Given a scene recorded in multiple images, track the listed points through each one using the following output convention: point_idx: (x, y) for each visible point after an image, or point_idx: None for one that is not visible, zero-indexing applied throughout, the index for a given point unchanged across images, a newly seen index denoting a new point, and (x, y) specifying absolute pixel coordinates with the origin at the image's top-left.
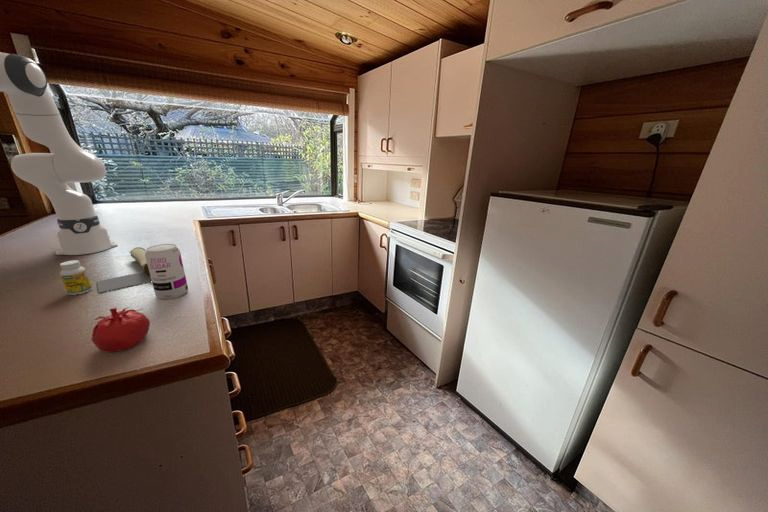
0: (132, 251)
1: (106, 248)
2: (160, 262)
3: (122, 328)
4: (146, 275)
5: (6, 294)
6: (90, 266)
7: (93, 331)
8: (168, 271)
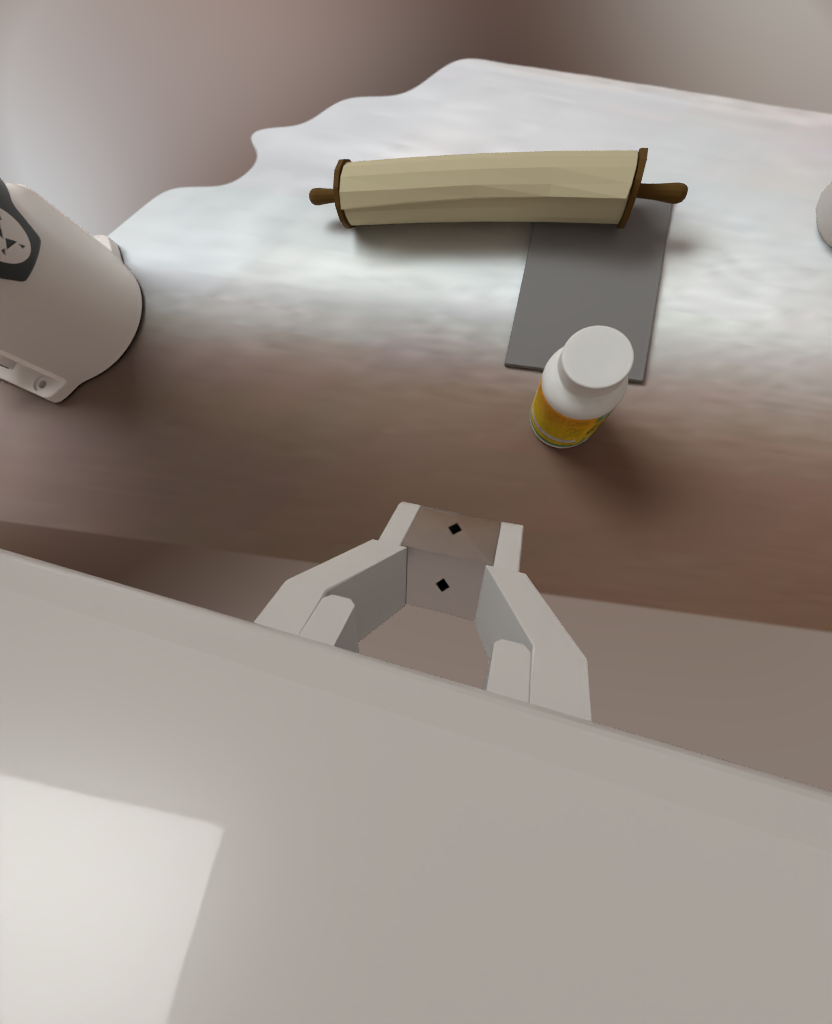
0: (362, 193)
1: (129, 272)
2: None
3: None
4: (586, 238)
5: None
6: (295, 349)
7: None
8: None
